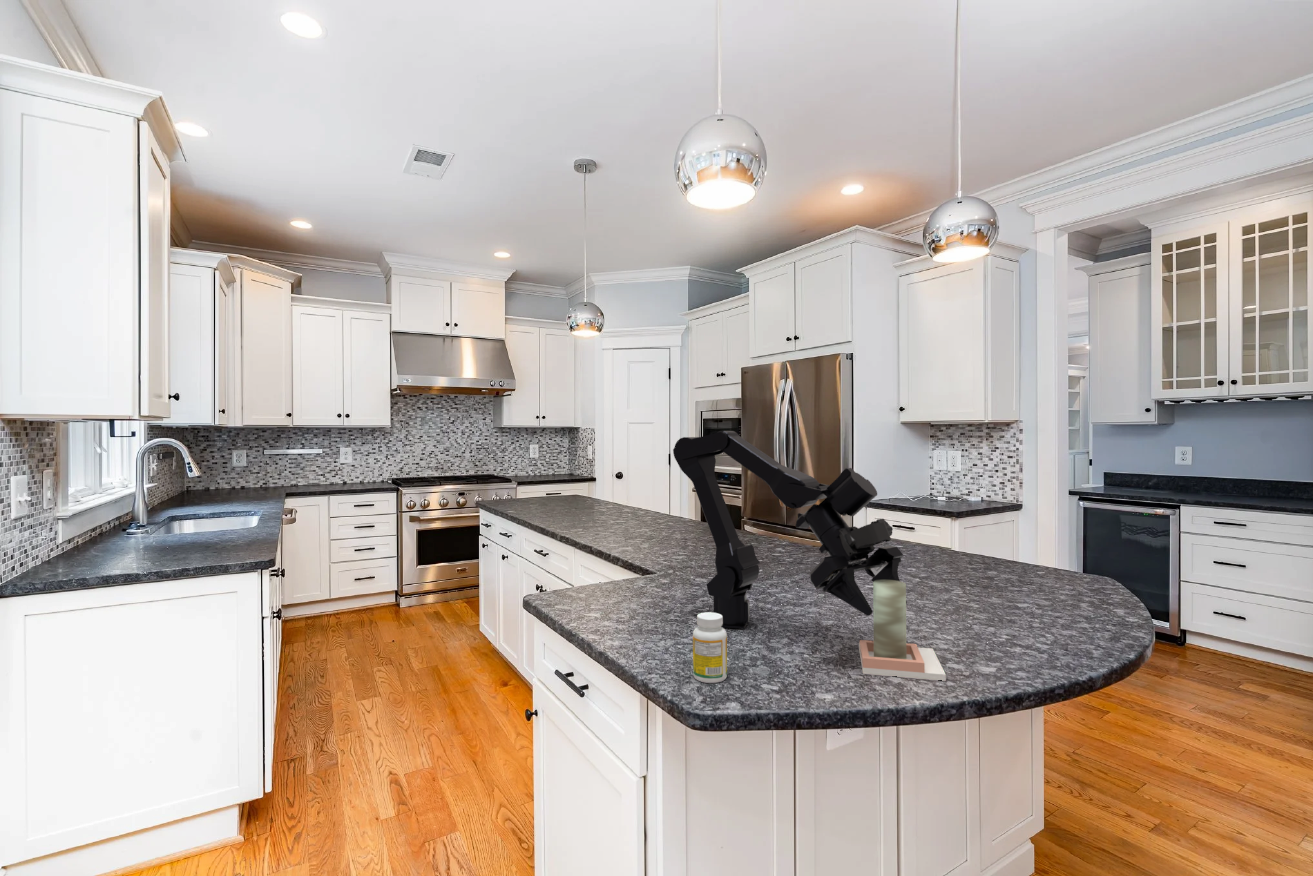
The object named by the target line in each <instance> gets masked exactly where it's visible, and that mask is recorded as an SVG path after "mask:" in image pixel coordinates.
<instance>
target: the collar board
mask: <svg viewBox="0 0 1313 876" xmlns="http://www.w3.org/2000/svg"><path fill="white" fill-rule="evenodd" d="M858 651H859V657H860V662H861V663H860V665H861V669H862V674H863V675H872V676H883V677H892V676H897V677H896V678H903V679H904V678H906V679H918V680H927V681H929V680H930V681H938V680H942V681H941V682H947V681H946V680H947V676H946V675H947V674H946V673H945V671H944V668H943V666H942V664H941V662H940V660H939V658H938V657H937V655H936V653H935V651H934V648H931V647H930V648H929V647H918V644H916V643H907V642H906V655H907V659H895V658H883V657H874V640H868V639H866V640H865V639H859V642H858Z"/></svg>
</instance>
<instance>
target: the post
mask: <svg viewBox="0 0 1313 876" xmlns="http://www.w3.org/2000/svg"><path fill="white" fill-rule="evenodd" d="M872 590H873V591H872V592H873V593H872V601H873V602H872V603H873V604H872V605H873V606H872V607H873V608H872V609H873V610H872V611H873V612H872V614H873V615H872V616H873V618H872V619H873V623H872V624H873V626H872V627H873V641H874V657H883V658H895V659H907V655H906V643H907V604H906V601H907V583H906V582H903V581H901V580H900V581H896V580H875V581H872Z"/></svg>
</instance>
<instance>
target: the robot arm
mask: <svg viewBox="0 0 1313 876" xmlns="http://www.w3.org/2000/svg"><path fill="white" fill-rule="evenodd" d="M672 452H673V457H674V460H675V461H676V463H677V465H678V467H679V469H680V470H681V471H682V473H684V475H685V476H686V477H687V478H688V479H689V480H690V481H691V483H692V485H693V487H694V490H695V494H696V496H697V498H698V501H699V503H700V506H701V508H702V512H703V515H704V517H705V521H706V522H707V523H706V524H707V526H708V528H709V532H710V534H711V536H712V539H713V543H714V544H715V556H714V557H715V559H714V565H715V570H716V575H714V576H713V578H712V579H710V580H709V582H708V583H707V584H706V585H705V586H706V590H707V592H708V595H709V597H710V596H711V597H713V613H718V614H721V615H722V616H723V624H722V626H721V627H722V628H724V629H725V628H728V629H738V630H739V629H740V630H743V629H746V626H747V625H748V624H749V622H750V620H751V618H750V616H751V614H750V613H751V612H750V611H751V610H750V601H751V600H750V599H747V597H748V596H747V595H748V594H747V593H748V592H749V591H751V589H752V587H753V585H754V583H755V582H756V580H758V577H759V574H760V568H759V565H760V564H761V562H760V560H759V558H757V556H756V551H755V548H754V546H753V545H752V544H749V545H745V544H744V543H743V542H742V541H741V540H740V538H739V536H738V532H737V531H736V528H735V526H734V523H733V522H734V521H733V520H732V517H731V514H730V511H729V509H728V506H727V504H726V501H725V498H724V496H723V494H722V491H721V488H720V485H719V483H718V480H717V476H716V475H715V471H716V460H717V459H716V456H719V455H722V454H725V455H727V456H728V457H730V458H731V459H732V460H734V461H736V462H737V463H738V464H740V465H741V466H743V468H745V469H746V470H748V471H749V472H751V473H752V474H754V475H755V476H756V477H758V478H759V479H761V480H762V481H764V482H765V484H767V486H769V488H770V490H771V492H772V493H773V496H775V497H776V498H777V499H778V500H779V501H780V502H781V503H782V504H783V505H784V506H785V507H787V508H789V509H800V508H804V507H809V506H811V507H809V508H808V509H807V510H806V511H805V512H804V513H802V512H799V513H797V519H796V522H795V528H796V529H809V528H810V530H811V531H812V532H813V534H814V535H815V537H816V539H817V540H818V541H819V543H820V544H821V545H820V546H819V548H818V550H819V552H820V553H821V554H825V553H827V554H828V556H825V557H823V559H822V560H820V561H819V562H818V564H817V565H816V566H815V567H814V568H813V569H812V570H811V571H810V574H809V577H810V578H809V580H810V582H811V584H812V585H813V587H814V588H815V589H816V591H817V590H821V589H822V591H823V592H824V593H828V594H830V595H831V596H834V597H836V598H838V599H839V600H840V601H841V600H842V601H843V602H844V603H846V604H848V605H850V606H851V607H853V608H854V609H856V610H857V611H860V613H862V614H864V615H865V616H870V615H872V614H873V610H872V609H873V608H872V607H871V605H870V603H869V602H868V600H867V599H866V597H865V595H864V594H863V592H862V590H861V589H860V588H859V586H858V584H857V582H856V578H855V573H856V572H860V571H865V573H866V574H867V575H869V577H872V578H871V579H870V580H871V581H872V582H873V581H875V580H896V581H901V580H900V577H899V572H898V570H899V565H900V564H902V559H903V558H904V554H903V553H902V551H901V550H900V548H899V547H898V546H895V545H887V546H882V547H878V548H877V549H876V547H875V546H876V545H879V544H882V543H884V542H886V543H887V542H890V541H892V538H891V536H892V535H893V531H894V529H893V526H892V525H890V523H888V522H887V520H885V519H884V518H877V519H875V520H874V521H873V520H872V521H871V522H870V523H869V524H866V525H863V526H860V527H857V526H849V524H848V523H847V522H846V521H845V519H844V518H843V517H846V516H849V517H854V516H856V515H857V514H858V513H859V512H860V511H861V510H863V509H864V508H865V507H866V506H867V505H868V504H869V503H870V502H871V501H873V499H875V498H876V497H877V496H878V491H877V488H876V487H875V486H874V485H873V483H872V482H871V481H870V480H869V479H866V477H863V476H862V475H861V474H860V473H858V472H856V471H855V470H854V469H853V468H852V467H846V468H844V470H842V471H841V473H840V474H839V476H838V477H837V478H836V479H835V480H833V482H831V484H825V483H820V482H819V481H818V480H817V479H816V478H815V477H814V476H812V475H810V474H807V473H804V472H802V471H800V470H797V469H794V468H791V467H788V466H785V465H783V464H781V463H779V462H778V461H777V460H775V459H774V458H772V457H771V456H769V455H768V454H767V453H765V452H763V451H762V450H760V449H759V448H757V446H755V445H753V444H752V443H750V442H748V441H747V440H746V439H744V438H743V437H742V436H740V435H739V433H737V432H736V431H734V430H719V431H717V432H715V433H712V434H708V435H702V436H688V437H687V436H683V437H680V438H679V439H677V441H676V443H675V444H674V447H673V449H672ZM819 500H822V501H821V502H820V503H818V504H817V502H818V501H819ZM875 549H876V550H875ZM874 550H875V551H874ZM872 552H873V553H872ZM871 553H872V554H871ZM870 554H871V555H870ZM869 555H870V556H869ZM907 604H908V601H907V600H906V605H907Z"/></svg>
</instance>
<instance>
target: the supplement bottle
mask: <svg viewBox="0 0 1313 876" xmlns="http://www.w3.org/2000/svg"><path fill="white" fill-rule="evenodd" d="M696 624H697V627H695V628H694V630H693V631H692V672H693V674H692V676H693V677H694V679H695V680H697V681H699V682H700V683H701V682H702V683H707V684H718V683H721V682H723V681H725V680H726V678H727V676H728V634H727V633H728V632H727V631H726V629H725V628H724V627H721V626H722V624H723V616H722V615H721V614H718V613H714V612H710V611H709V612H708V611H707V612H705V611H704V612H701V613H698V614H697V616H696Z"/></svg>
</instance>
